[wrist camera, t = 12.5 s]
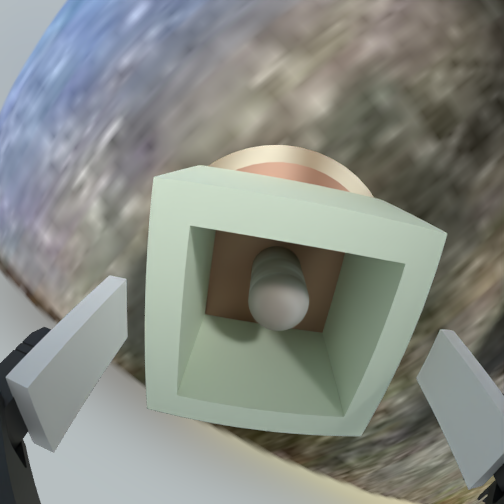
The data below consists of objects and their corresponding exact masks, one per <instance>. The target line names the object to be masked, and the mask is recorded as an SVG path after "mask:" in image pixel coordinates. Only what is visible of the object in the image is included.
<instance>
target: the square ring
mask: <svg viewBox="0 0 504 504" xmlns="http://www.w3.org/2000/svg"><path fill="white" fill-rule="evenodd" d="M216 230H220V231H226V232H232V233H238V234H244V235H249V236H255V237H261V238H267V239H272V240H278V241H284V242H290V243H295V244H301V245H306V246H312V247H318V248H323V249H329V250H334V251H340V252H345V255H344V259H343V263H342V266H341V270H340V274H339V278H338V281H337V285H336V288H335V292H334V295H333V299H332V302H331V306H330V309H329V312H328V316H327V319H326V322H325V326H324V329H323V332H322V333H321V332H313V331H306V330H299V329H292V328H290V329H288V330H283V331H274V330H269V329H267V328H265V327H263V326H261V325H260V324H259V323H253V322H247V321H241V320H235V319H229V318H223V317H218V316H212V315H207V314H205V311H206V302H207V294H208V286H209V278H210V270H211V262H212V255H213V247H214V240H215V233H216ZM446 237H447V233H446V232H444V231H442V230H440V229H438V228H437V227H435V226H433V225H431V224H429V223H427V222H425V221H423V220H421V219H419V218H417V217H416V216H414V215H412V214H410V213H408V212H406V211H404V210H402V209H400V208H398V207H396V206H394V205H392V204H390V203H387V202H385V201H383V200H381V199H377V198H373V197H369V196H364V195H360V194H356V193H351V192H347V191H342V190H338V189H333V188H328V187H323V186H319V185H314V184H309V183H304V182H298V181H293V180H288V179H283V178H277V177H272V176H266V175H260V174H254V173H248V172H242V171H236V170H229V169H223V168H216V167H209V166H202V165H198V166H194V167H190V168H186V169H182V170H178V171H175V172H171V173H167V174H163V175H159V176H156V177H154V180H153V189H152V198H151V209H150V220H149V233H148V248H147V266H146V290H145V375H146V399H147V409H151V410H155V411H159V412H163V413H167V414H171V415H175V416H180V417H184V418H190V419H194V420H199V421H204V422H210V423H215V424H221V425H227V426H233V427H240V428H247V429H255V430H263V431H272V432H282V433H293V434H307V435H326V436H361V435H362V433H363V431H364V430H365V428H366V426H367V425H368V423H369V421H370V419H371V418H372V416H373V414H374V412H375V410H376V409H377V407H378V405H379V403H380V401H381V399H382V397H383V396H384V394H385V392H386V390H387V388H388V386H389V384H390V382H391V380H392V378H393V376H394V374H395V372H396V370H397V367H398V365H399V363H400V361H401V359H402V357H403V355H404V352H405V350H406V348H407V346H408V343H409V341H410V339H411V336H412V334H413V332H414V329H415V327H416V324H417V322H418V319H419V317H420V314H421V312H422V309H423V307H424V304H425V301H426V299H427V296H428V293H429V290H430V287H431V285H432V282H433V279H434V276H435V273H436V270H437V267H438V264H439V260H440V257H441V254H442V251H443V247H444V244H445V240H446Z"/></svg>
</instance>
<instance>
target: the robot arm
mask: <svg viewBox="0 0 504 504" xmlns="http://www.w3.org/2000/svg"><path fill="white" fill-rule="evenodd" d="M127 337H128V332H127V279H124V278H120V277H115V276H111V275H109V276H108V277H107V278H106V279H105V280H104V281H103V282H102V283H100V284H99V285H98V286H97V287H96V288H95V289H94V290H93V291H92V292H91V293H90V294H88V295H87V296H86V297H85V298H84V299H83V300H82V301H81V302H80V303H79V304H78V305H77V306H76V307H74V308H73V309H72V310H71V311H70V312H69V313H68V314H67V315H66V316H65V317H64V318H63V319H62V320H61V321H60V322H59V323H58V324H57V325H56V326H55V327H54V328H53V329H52V330H51V329H48V328H46V327H43V328H41V329H39V330H37V331H35V332H33V333H31V334H30V335H29V336H28V337H27V338H26V339H25V340H24V341H23V343H21V344H20V345H18V346H17V347H16V350H13V351H12V352H11V353H10V354H9V355H8V356H7V357H6V358H5V359H4V360H3V361H2V362H1V363H0V504H41V503H40V500H39V496H38V493H37V490H36V486H35V483H34V479H33V475H32V471H31V467H30V464H29V459H28V455H27V450H26V446H25V443H24V441H23V438H24V436H25V435H26V433H27V432H29V434H30V436H31V438H32V440H33V442H34V443H35V444H37V445H39V446H41V447H43V448H45V449H47V450H49V451H51V452H54V451H55V450H56V448H57V447H58V445H59V443H60V442H61V440H62V438H63V437H64V435H65V433H66V432H67V430H68V428H69V427H70V425H71V423H72V422H73V420H74V419H75V417H76V415H77V414H78V412H79V411H80V409H81V407H82V406H83V404H84V403H85V401H86V399H87V398H88V396H89V395H90V393H91V391H92V390H93V389H94V387H95V385H96V384H97V382H98V381H99V379H100V378H101V376H102V374H103V373H104V371H105V370H106V369H107V367H108V365H109V364H110V363H111V361H112V360H113V358H114V357H115V355H116V354H117V352H118V351H119V349H120V348H121V346H122V345H123V343H124V342H125V340H126V339H127ZM416 379H417V381H418V383H419V385H420V387H421V389H422V391H423V393H424V394H425V396H426V398H427V400H428V402H429V404H430V406H431V408H432V410H433V412H434V414H435V416H436V418H437V421H438V423H439V425H440V427H441V429H442V431H443V433H444V435H445V437H446V439H447V442H448V444H449V446H450V448H451V450H452V452H453V455H454V457H455V459H456V461H457V464H458V466H459V468H460V471H461V473H462V475H463V478H464V480H465V482H466V485H467V487H468V490H469V489H472V488H476V487H479V486H482V485H484V484H485V483H486V482H487V481H488V480H489V479H490V478H491V477H492V476H493V475H494V477H495V479H496V480H495V481H494V482H493V483H492V484H491V485H490V486H489V487H488V488H487V489H486V490H485V491H484V492H483V493H482V494H480V495H479V497H478V500H480V499H481V498H482V497H483V496H485V495H486V494H488V496H487V497H486V498H485V499H484V500H483V502H485V504H504V394H503V393H502V392H501V391H500V390H499V388H498V387H497V386H496V384H495V383H494V382H493V380H492V379H491V378H490V376H489V375H488V374H487V372H486V371H485V370H484V368H483V367H482V366H481V365H480V363H479V362H478V361H477V359H476V358H475V357H474V356H473V354H472V353H471V352H470V351H469V349H468V348H467V347H466V346H465V344H464V343H463V342H462V341H461V339H460V338H459V337H458V336H457V335H456V333H455V332H454V331H453V330H444V329H440V331H439V333H438V335H437V337H436V340H435V342H434V344H433V346H432V348H431V350H430V352H429V354H428V356H427V358H426V360H425V362H424V364H423V366H422V368H421V370H420V372H419V374H418V376H417V378H416Z"/></svg>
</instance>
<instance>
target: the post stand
mask: <svg viewBox="0 0 504 504" xmlns="http://www.w3.org/2000/svg"><path fill="white" fill-rule="evenodd" d="M209 167H216V168H223V169H229V170H236V171H242V172H248V173H254V174H260V175H266V176H272V177H277V178H283V179H288V180H293V181H298V182H304V183H309V184H314V185H319V186H323V187H328V188H333V189H338V190H342V191H347V192H351V193H356V194H360V195H364V196H369V197H373V195H372V194H371V192H370V191H369V189H368V188H367V187H366V186H365V185H364V184H363V182H362V181H361V180H360V179H359V178H358V177H357V176H356V175H354V174H353V173H352V172H351V171H350V170H348V169H347V168H346V167H345V166H343V165H341V164H340V163H338V162H337V161H335V160H333V159H332V158H329V157H327V156H325V155H323V154H320V153H318V152H315V151H312V150H308V149H304V148H301V147H294V146H286V145H265V146H258V147H252V148H247V149H244V150H241V151H237V152H234V153H231V154H229V155H227V156H225V157H223V158H221V159H218V160H217V161H215V162H213V163H212V164H210V165H209ZM373 198H374V197H373ZM344 255H345V252H340V251H334V250H329V249H323V248H318V247H312V246H306V245H301V244H295V243H290V242H284V241H278V240H272V239H267V238H261V237H255V236H249V235H244V234H238V233H232V232H226V231H220V230H216V233H215V240H214V247H213V255H212V262H211V270H210V278H209V286H208V294H207V302H206V311H205V314H207V315H212V316H218V317H223V318H229V319H235V320H241V321H247V322H253V323H259V324H260V325H261V326H263V327H265V328H267V329H269V330H274V331H283V330H288V329H290V328H292V329H299V330H306V331H313V332H321V333H322V332H323V329H324V326H325V322H326V319H327V316H328V312H329V309H330V306H331V302H332V299H333V295H334V292H335V288H336V285H337V281H338V278H339V274H340V270H341V266H342V263H343V259H344Z"/></svg>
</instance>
